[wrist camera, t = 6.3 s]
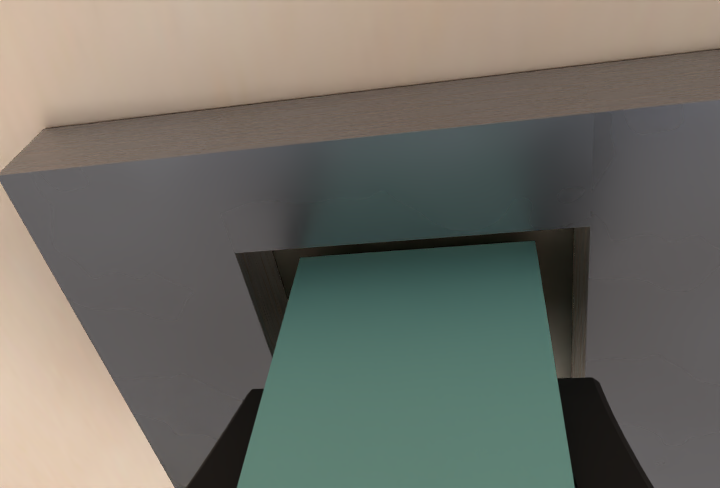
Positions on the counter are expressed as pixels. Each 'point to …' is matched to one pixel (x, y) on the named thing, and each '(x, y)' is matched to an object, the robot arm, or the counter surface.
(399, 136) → the steel rail
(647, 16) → the counter surface
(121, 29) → the counter surface
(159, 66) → the counter surface
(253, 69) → the counter surface
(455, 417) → the teal peg
